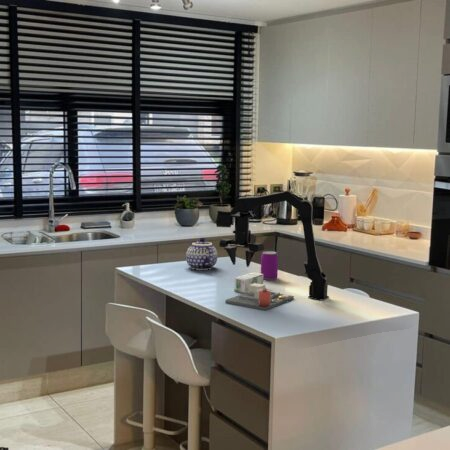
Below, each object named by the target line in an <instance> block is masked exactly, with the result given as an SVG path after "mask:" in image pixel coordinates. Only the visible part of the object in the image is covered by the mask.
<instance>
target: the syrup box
mask: <svg viewBox="0 0 450 450" xmlns="http://www.w3.org/2000/svg"><path fill="white" fill-rule="evenodd" d="M263 277H264V274H261V272H260V273H259V272H252V271H251V272H250V273H246V274H244V275H243V274H242V275H239V276H235V277H234V287H233V288H234V289H233V290H234V292H237V293H238V292H239V293H242V294H244V293H246V292H249V285H251V284H254V283H257V284H263V285H264V279H263Z"/></svg>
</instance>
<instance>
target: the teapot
mask: <svg viewBox="0 0 450 450" xmlns="http://www.w3.org/2000/svg"><path fill="white" fill-rule="evenodd" d="M185 255H186V256H185V258H186V263H187V265H188V266H189V267H190V268H191V270H194V269H196V270H195V271H208V269H209V270H212V269H213V267H215V265H216V264H217V262H218V250H217V248H216V247H215V246H214V245H213V242H209V241H206V238H205V237H200V238H199V240H198V241H191V245H190V246H189V247H188V248H187V251H186V253H185ZM211 268H212V269H211Z"/></svg>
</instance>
